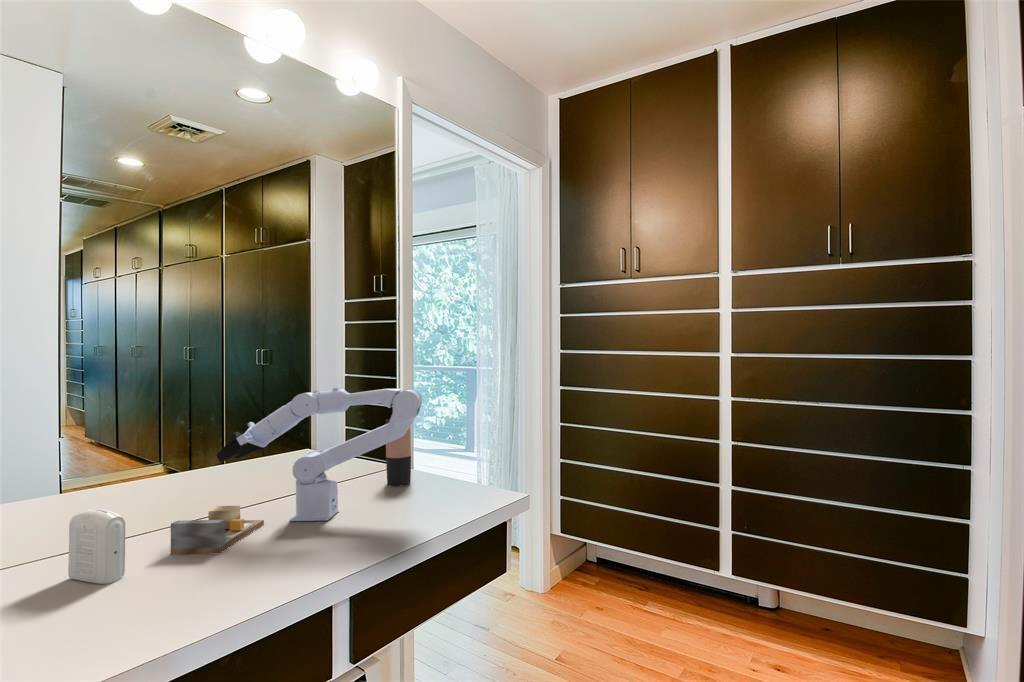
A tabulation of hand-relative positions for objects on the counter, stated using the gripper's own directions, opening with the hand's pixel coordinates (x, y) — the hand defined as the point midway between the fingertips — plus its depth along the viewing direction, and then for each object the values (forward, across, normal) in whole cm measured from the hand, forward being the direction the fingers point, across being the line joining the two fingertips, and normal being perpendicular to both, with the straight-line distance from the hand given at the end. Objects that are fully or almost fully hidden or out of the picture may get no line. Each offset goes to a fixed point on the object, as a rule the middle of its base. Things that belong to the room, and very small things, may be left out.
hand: (227, 456), depth 127 cm
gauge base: (+4, +12, +17) cm, 21 cm away
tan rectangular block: (+4, +8, +15) cm, 18 cm away
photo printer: (+16, +31, +12) cm, 37 cm away
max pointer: (+1, +11, +17) cm, 20 cm away
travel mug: (-23, -35, +30) cm, 51 cm away
